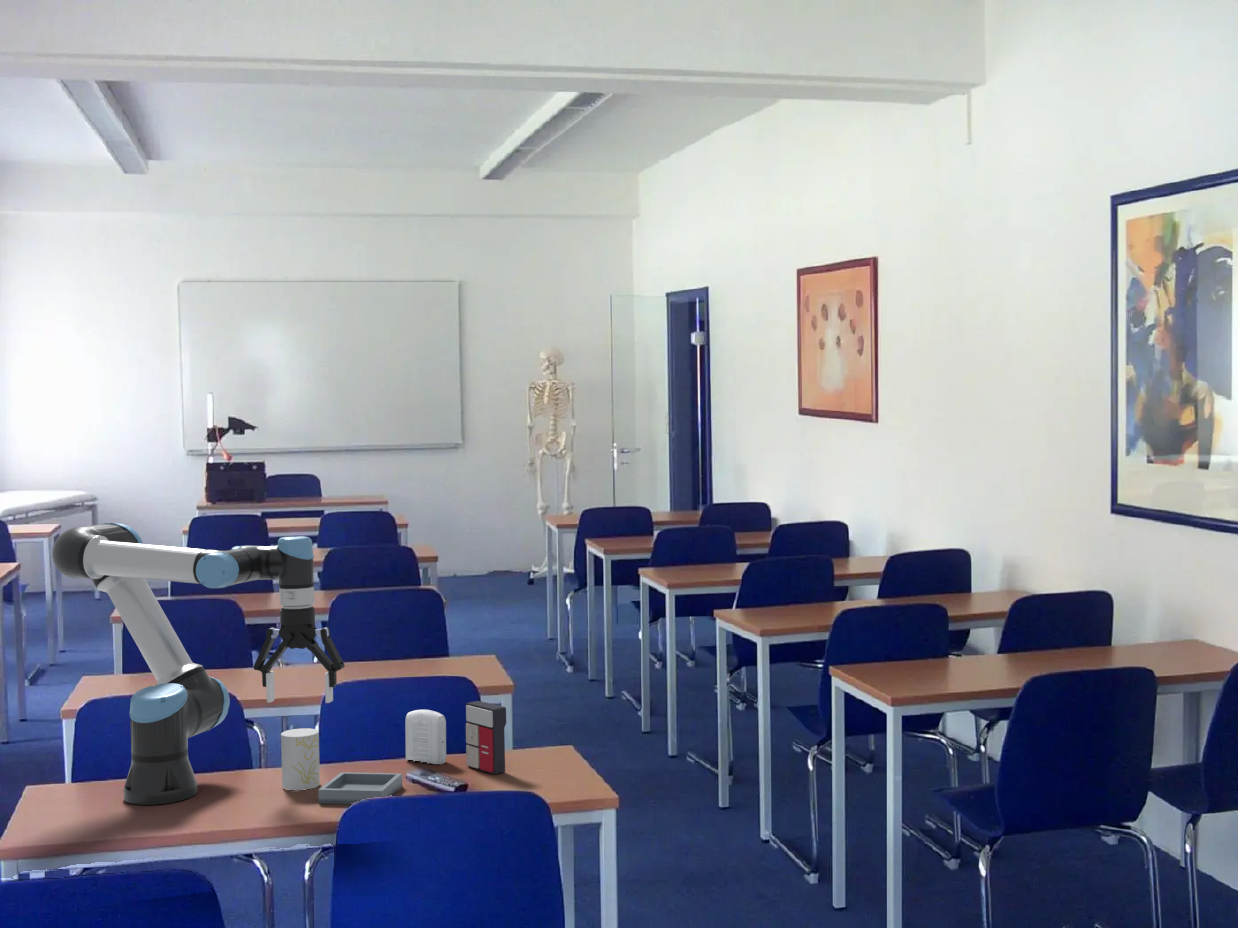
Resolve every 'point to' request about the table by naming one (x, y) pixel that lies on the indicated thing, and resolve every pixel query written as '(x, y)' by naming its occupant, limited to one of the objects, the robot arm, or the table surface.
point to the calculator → (485, 737)
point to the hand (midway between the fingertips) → (300, 701)
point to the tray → (359, 787)
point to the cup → (300, 759)
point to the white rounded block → (425, 736)
